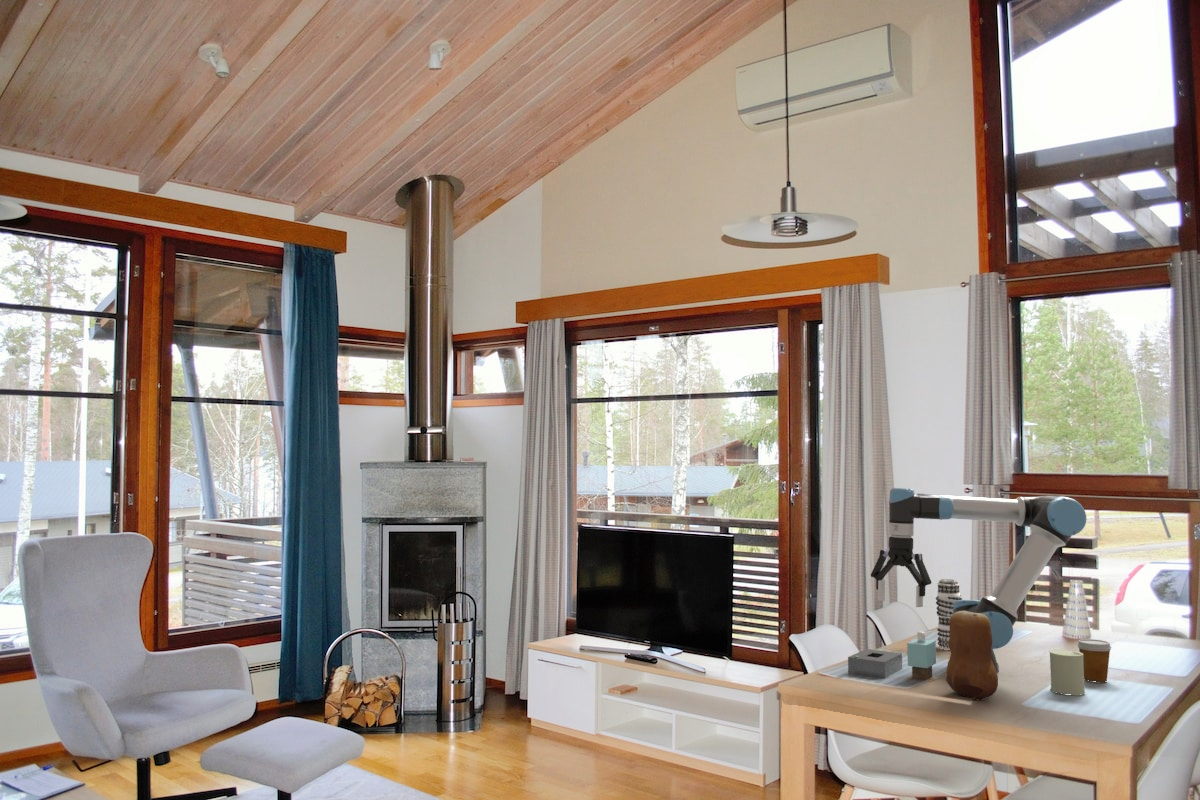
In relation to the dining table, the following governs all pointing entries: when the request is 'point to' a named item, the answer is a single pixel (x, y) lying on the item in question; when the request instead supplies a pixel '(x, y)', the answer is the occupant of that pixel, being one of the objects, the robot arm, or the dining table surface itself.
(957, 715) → the dining table surface
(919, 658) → the teal and white block
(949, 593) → the decorative candle
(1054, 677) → the can
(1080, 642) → the disposable coffee cup
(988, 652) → the butternut squash
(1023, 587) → the robot arm
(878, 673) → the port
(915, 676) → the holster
